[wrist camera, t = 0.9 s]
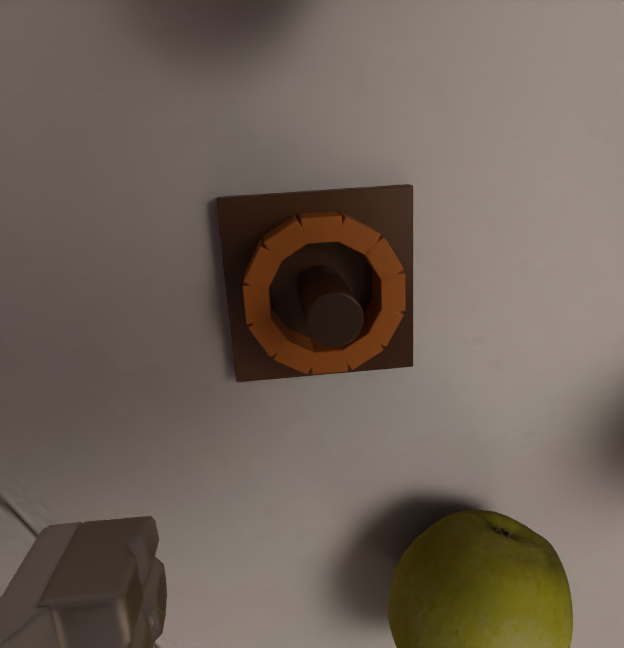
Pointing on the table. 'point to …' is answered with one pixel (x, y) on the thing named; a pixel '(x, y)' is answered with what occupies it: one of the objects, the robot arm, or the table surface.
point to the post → (316, 273)
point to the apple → (480, 587)
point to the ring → (377, 317)
